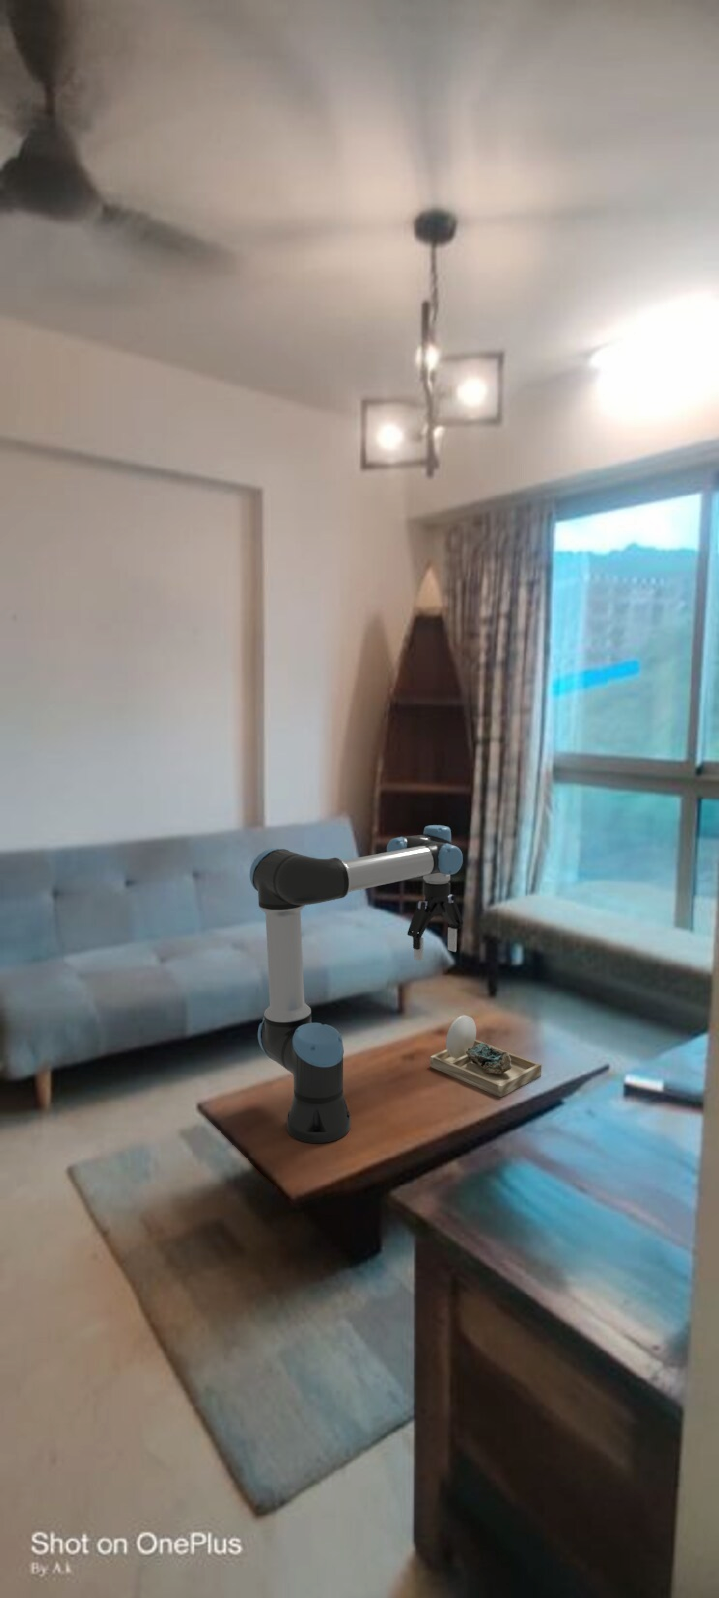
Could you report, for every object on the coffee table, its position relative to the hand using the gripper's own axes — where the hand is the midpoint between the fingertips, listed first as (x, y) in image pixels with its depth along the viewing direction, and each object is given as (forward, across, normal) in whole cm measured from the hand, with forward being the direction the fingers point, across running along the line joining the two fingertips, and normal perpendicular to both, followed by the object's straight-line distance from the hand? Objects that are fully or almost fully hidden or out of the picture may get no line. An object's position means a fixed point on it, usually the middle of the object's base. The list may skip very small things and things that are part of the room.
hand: (435, 955), depth 222 cm
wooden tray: (+30, +4, -15) cm, 34 cm away
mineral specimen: (+29, +4, -17) cm, 34 cm away
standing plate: (+30, +4, -7) cm, 31 cm away
